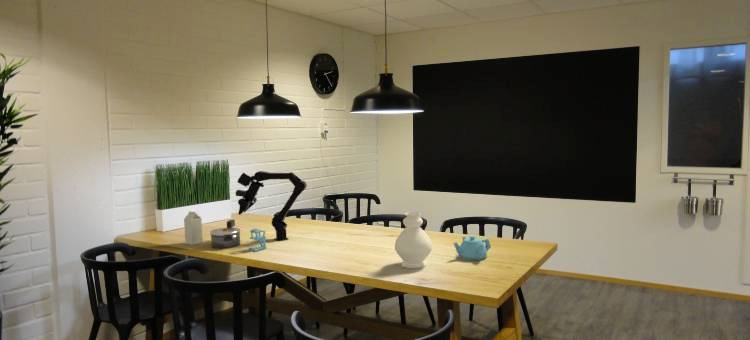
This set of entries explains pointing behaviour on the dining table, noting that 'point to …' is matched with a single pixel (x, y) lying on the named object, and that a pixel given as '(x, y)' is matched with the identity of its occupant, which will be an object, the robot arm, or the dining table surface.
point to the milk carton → (193, 229)
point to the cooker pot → (225, 241)
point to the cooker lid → (226, 230)
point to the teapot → (472, 248)
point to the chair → (259, 238)
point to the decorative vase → (413, 242)
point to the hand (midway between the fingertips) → (241, 213)
